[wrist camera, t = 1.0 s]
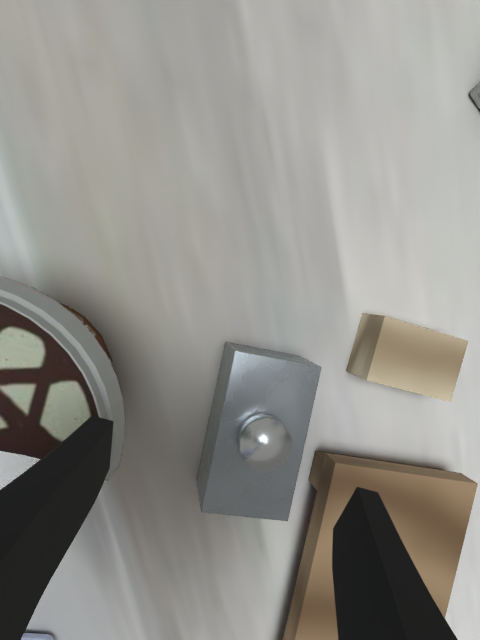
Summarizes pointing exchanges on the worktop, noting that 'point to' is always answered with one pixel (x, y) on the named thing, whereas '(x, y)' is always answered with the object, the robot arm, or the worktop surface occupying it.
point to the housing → (256, 432)
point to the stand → (407, 516)
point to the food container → (52, 375)
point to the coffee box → (476, 95)
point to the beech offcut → (406, 356)
